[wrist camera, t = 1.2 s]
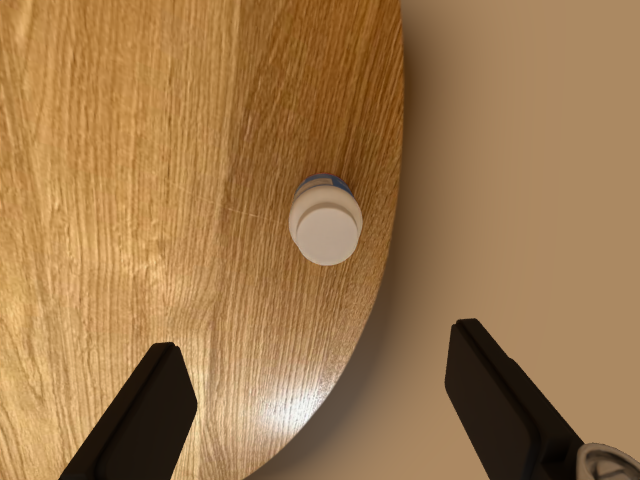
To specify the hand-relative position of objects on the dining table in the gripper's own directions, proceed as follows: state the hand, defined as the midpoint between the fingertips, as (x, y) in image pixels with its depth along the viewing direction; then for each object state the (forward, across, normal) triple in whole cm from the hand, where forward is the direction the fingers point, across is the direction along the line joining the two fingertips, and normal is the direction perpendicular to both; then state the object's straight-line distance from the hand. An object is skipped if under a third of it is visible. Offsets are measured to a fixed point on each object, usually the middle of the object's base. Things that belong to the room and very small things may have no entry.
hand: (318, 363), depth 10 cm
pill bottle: (+19, -1, -1) cm, 19 cm away
